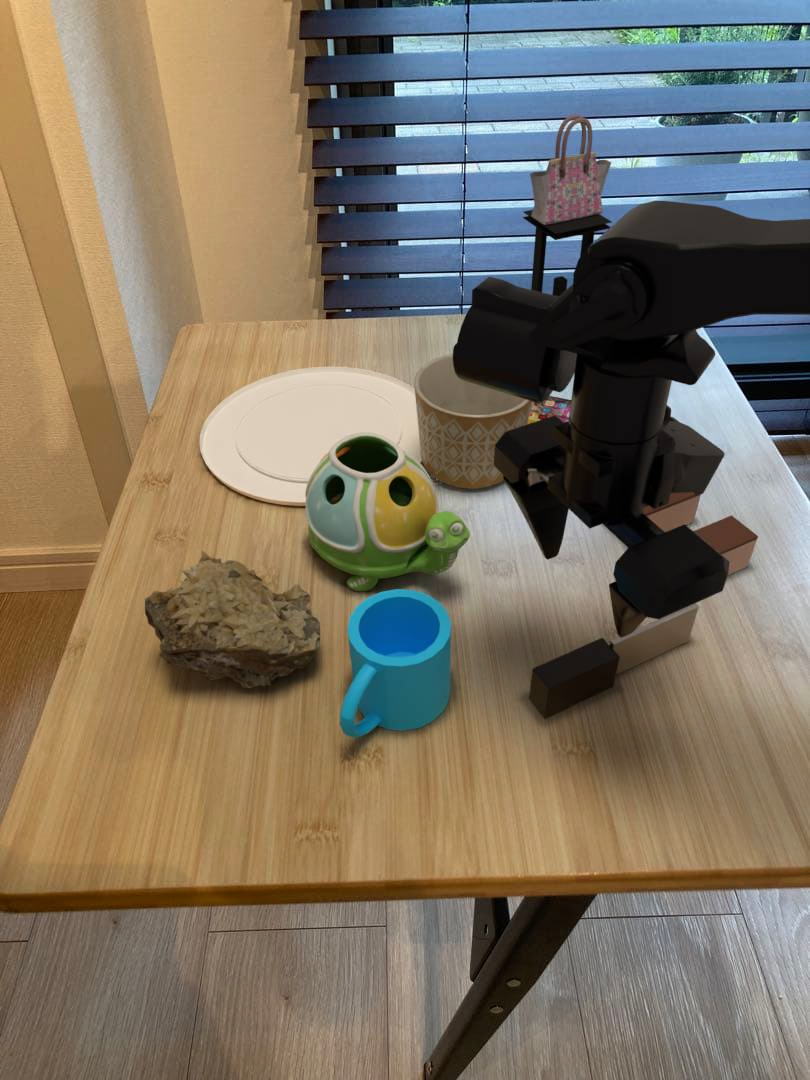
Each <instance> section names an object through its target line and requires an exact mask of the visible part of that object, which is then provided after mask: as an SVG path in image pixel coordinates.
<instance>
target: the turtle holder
mask: <svg viewBox="0 0 810 1080" xmlns="http://www.w3.org/2000/svg"><path fill="white" fill-rule="evenodd" d="M305 496H306V506H305V507H304V508H305V516H306V521H307V523H308V524H307V525H308V526H307V527H308V536H309V545H310V546H311V547H312V549H314V550H315V552H316V553H317V554H318V555H319V556H320V557H321V558H322V559H323V560H325V561H326V562H327V563H329V564H330V565H331V566H333V567H335V568H336V569H339V570H341V571H343V572H345V573H348V574H351V575H352V576H350V577H349V578H348V579H347V580H346V583H347V586H348V588H349V589H350V590H353V591H356V592H369V591H370V590H372V589H374V588H375V587H376V585H377V584H378V582H379V580H380V579H389V578H393V577H398V576H402V575H405V574H409V573H415V572H418V573H423V574H428V575H436V574H441V573H445V572H446V571H448V570H449V569H450V568H452V567H453V566H454V564H455V562H456V559H457V557H458V554H459V550H460V549H462V547H463V546H464V545H465V544H466V543H467V542H468V541H469V539H470V536H471V532H470V530H469V529H468V527H467V526H466V524H465V522H464V520H463V519H462V518H460V517H459V516H458V515H457V514H456V513H455V512H452V511H450V510H443V511H440V507H439V499H438V497H437V489H436V487H435V485H434V483H433V480H432V478H431V476H430V475H429V472H428V471H427V469H426V468H425V466H424V465H422V464H420V463H419V462H418V461H417V460H415V459H414V458H413V457H412V456H410V455H409V454H407V453H406V452H404V451H403V450H402V449H401V448H400V447H399V446H398V445H397V444H396V443H394V442H393V441H391V440H389V439H388V438H386V437H384V436H382V435H379V434H376V433H372V432H361V433H356V434H352V435H349V436H347V437H344V438H343V439H341V440H339V441H338V442H337V443H335V444H334V445H333V446H332V447H331V449H330V451H329V452H328V453H327V454H326V455H325V456H324V457H323V458H322V459H321V461H320V462H319V464H318V465H317V467H316V468H315V469H314V471H313V473H312V474H311V476H310V479H309V481H308V484H307V487H306V492H305ZM439 511H440V512H439Z"/></svg>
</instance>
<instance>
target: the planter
mask: <svg viewBox="0 0 810 1080" xmlns="http://www.w3.org/2000/svg"><path fill="white" fill-rule="evenodd" d="M413 385H414V387H413V388H414V389H415V398H416V408H417V419H418V430H419V440H420V451H421V459H422V464H423V467H424V468H425V470H426V471H427V473H428V474H430V475H431V476H432V477H433V478H435V479H436V480H438V481H439V482H442V483H443V484H446V485H449V486H452V487H456V488H460V489H484V488H488V487H492V486H495V485H497V484H500V483H502V482H504V481H503V474H502V473H501V472H500V471H499V470H498V469H497V468H496V467H495V466H494V450H495V444H496V443H497V441H498V440H499V439H500V438H501V436H502V435H503V434H504V433H505V432H506V431H509V430H512V429H515V428H518V427H521V426H524V425H527V423H528V419H529V414H530V410H531V405H532V401H529V400H526V399H523V398H520V397H516V396H513V395H510V394H506V393H503V392H500V391H497V390H493V389H490V388H487V387H483V386H480V385H477V384H474V383H470V382H467V381H464V380H461V379H460V378H458V377H457V375H456V374H455V370H454V367H453V353H449V354H445V355H441V356H438V357H436V358H434V359H432V360H430V361H428V362H427V363H425V364H424V365H423V366H421V367H420V368H419V370H418V371H417V372H416V374H415V376H414V381H413Z"/></svg>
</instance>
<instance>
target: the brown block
mask: <svg viewBox="0 0 810 1080" xmlns="http://www.w3.org/2000/svg"><path fill="white" fill-rule="evenodd" d="M693 531H694V532H695V533H696V534H698V535H699V536H700V537H701V538H702V539H703V540H705V541H706V542H707V543H708V544H709V545H711V546H712V547H713V548H714V549H715V550H716V551H718V552H719V553H720V554H721V555H722V556H724V557H725V558H726V559H727V560H728V561H730V563H729V571H728V575H727V577H728V576H731V575H732V574H735V573H737V572H739V571H741V570H743V569H746V568H748V567H749V564H750V562H751V558H752V555H753V552H754V549H755V547H756V544H757V540H758V538H759V535H757V534H756V533H754V532H753V531H752V530H751V529H750V528H748V527H747V526H746V525H745V524H744V523H742V522H741V521H740V520H738V519H737V518H736V517H734V516H733V515H729V516H727V517H724V518H721V519H720V520H717V521H715V522H712V523H710V524H707V525H705V526H703V527H700V528H698V529H696V530H693Z"/></svg>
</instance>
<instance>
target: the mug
mask: <svg viewBox="0 0 810 1080" xmlns="http://www.w3.org/2000/svg"><path fill="white" fill-rule="evenodd" d="M346 629H347V637H348V638H347V639H348V646H349V655H350V656H349V657H350V665H351V674H352V682H351V684H350V685H349V688H348V689H347V692H346V694H345V697H344V699H343V701H342V705H341V708H340V714H339V726H340V728H341V730H342V732H343V734H344V735H345V736H347V737H351V738H355V739H358V738H361V737H363V736H366V735H368V734H369V733H370V732H372V731H373V730H374V729H375V728H377V726H378V727H381V728H384V729H386V730H389V731H400V732H401V731H404V732H405V731H411V730H416V729H420V728H422V727H424V726H426V725H428V724H431V723H432V722H434V721H436V720H437V719H438V717H440V716H441V714H442V713H444V711H445V709H446V707H447V705H448V704H449V701H450V694H451V662H452V661H451V656H452V655H451V653H452V651H451V650H452V621H451V619H450V615H449V612H448V611H447V609H446V608H445V607H444V606H443V604H441V602H440V601H438V600H437V599H436V598H434V597H432V596H430V595H429V594H427V593H424V592H422V591H421V592H420V591H417V590H414V589H404V588H403V589H402V588H401V589H400V588H395V589H390V590H384V591H380V592H378V593H375V594H373V595H370V596H368V597H367V598H365V599H364V600H363V601H361V602H360V603H359V604H358V605H357V606H356V607H355V608H354V610H353V611H352V613H351V615H350V616H349V620H348V624H347V628H346ZM358 710H359V711H360V712H361V714H362V715H363V717H364V718H363V719H362V720H360V721H359V722H358V723H355V722H356V715H357V712H358Z"/></svg>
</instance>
